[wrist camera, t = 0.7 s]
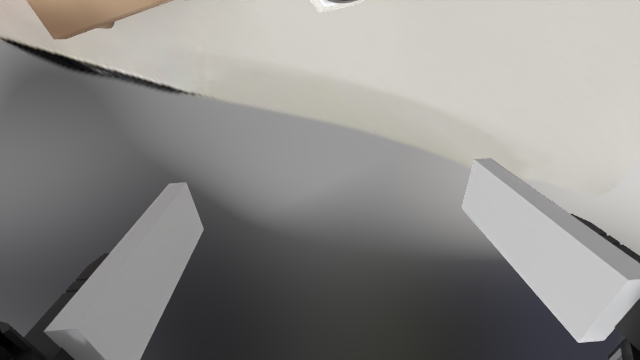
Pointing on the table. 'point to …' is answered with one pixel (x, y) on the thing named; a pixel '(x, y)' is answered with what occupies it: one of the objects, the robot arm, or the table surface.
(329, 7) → the jar
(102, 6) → the stool
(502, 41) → the table surface
